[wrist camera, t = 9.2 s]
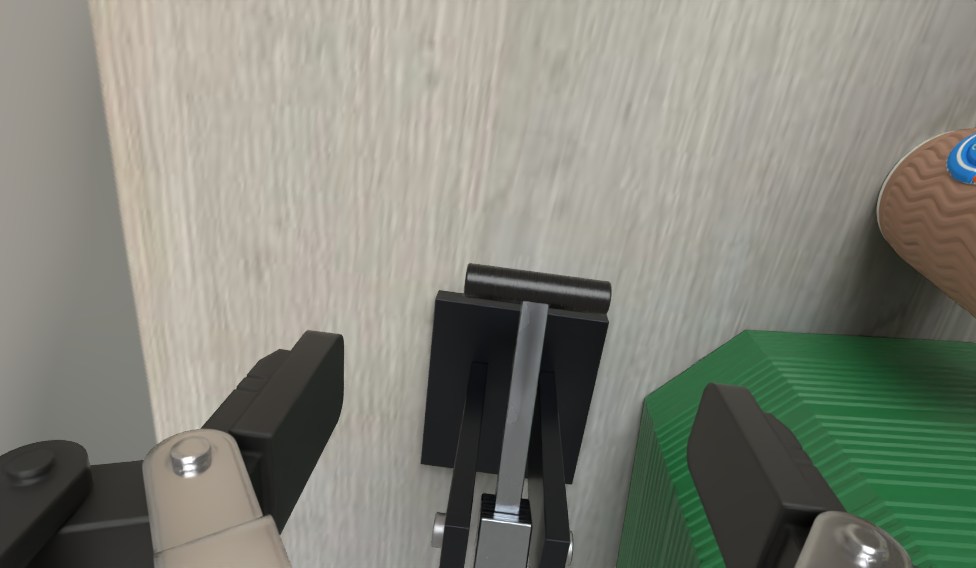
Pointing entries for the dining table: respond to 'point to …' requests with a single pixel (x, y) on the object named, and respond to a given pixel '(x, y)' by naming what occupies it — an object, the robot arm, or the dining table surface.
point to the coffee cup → (935, 213)
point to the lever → (522, 397)
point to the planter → (824, 441)
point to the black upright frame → (482, 410)
